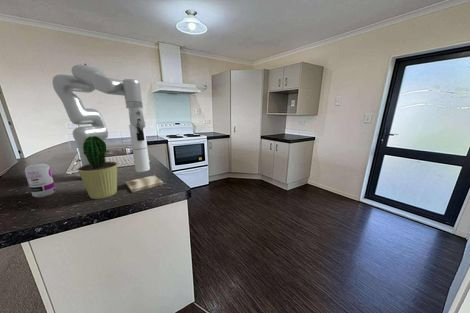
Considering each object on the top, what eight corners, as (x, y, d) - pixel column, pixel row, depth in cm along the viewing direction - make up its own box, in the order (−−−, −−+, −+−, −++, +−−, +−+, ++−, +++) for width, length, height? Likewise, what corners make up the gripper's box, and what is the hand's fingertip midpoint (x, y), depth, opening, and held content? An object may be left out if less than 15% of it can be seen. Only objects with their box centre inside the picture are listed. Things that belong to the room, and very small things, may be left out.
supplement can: (55, 189, 94) (47, 162, 90) (57, 193, 89) (49, 165, 85) (32, 194, 88) (23, 165, 84) (33, 199, 83) (23, 169, 79)
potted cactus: (93, 204, 79) (79, 138, 71) (78, 196, 86) (63, 135, 79) (127, 191, 92) (118, 134, 84) (112, 185, 99) (102, 132, 92)
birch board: (132, 192, 91) (131, 189, 90) (125, 184, 101) (125, 181, 100) (163, 184, 101) (162, 181, 101) (154, 177, 111) (154, 175, 111)
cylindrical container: (139, 172, 94) (132, 125, 88) (133, 170, 98) (126, 125, 92) (152, 169, 99) (147, 124, 93) (146, 167, 104) (140, 124, 97)
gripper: (147, 105, 86) (151, 140, 91) (137, 105, 99) (141, 137, 103) (130, 104, 81) (135, 142, 86) (122, 105, 94) (127, 138, 98)
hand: (138, 139), depth 94 cm, fingers closed on cylindrical container, 7 cm apart
